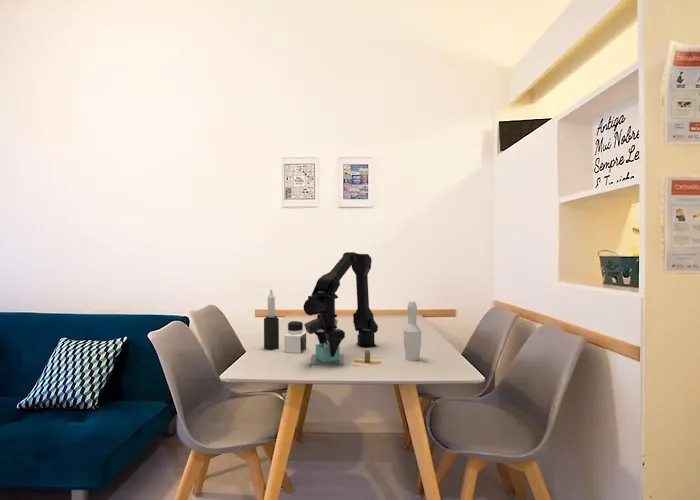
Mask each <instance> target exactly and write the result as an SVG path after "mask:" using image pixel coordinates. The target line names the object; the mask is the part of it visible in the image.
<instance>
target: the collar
mask: <svg viewBox="0 0 700 500" xmlns="http://www.w3.org/2000/svg"><path fill="white" fill-rule="evenodd" d="M340 350H341V349H340V345H339V346H338V349H337V351H336V353H335V355H334V357H331V355H330V348H329V347H324V343H323V344H320V343H316V344H315V354H316V358H317V359H318V360H320V361H321V362H329V361H336V360H340V354H341V353H340Z"/></svg>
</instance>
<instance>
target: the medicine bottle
mask: <svg viewBox="0 0 700 500" xmlns="http://www.w3.org/2000/svg"><path fill="white" fill-rule="evenodd" d="M303 329H304V323H303V322H302V321H300V320H292V321H289V322H288V323H287V331H288V332H287V333H286V334H284V335H283V336H284V337H283V338H284V342H283V343H284V344H283V345H284V346H283V347H284V351H283V352H284V353H291V354H301V353H303V352H304V351H305V350H306V349H307V331H303Z"/></svg>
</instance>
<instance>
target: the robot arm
mask: <svg viewBox="0 0 700 500" xmlns="http://www.w3.org/2000/svg"><path fill="white" fill-rule="evenodd" d="M372 261H373V260H372V257H371V256H370V254H368V253H357V252H355V251H350V252H349V251H347V252H344V253H343V254H342V257H341V258H340V259H339V260H338V262H337V263H336V264H335V265H334V266H333V268H331V270H330V271H329V272H327V273H324V274H322V276H320V277H319V278H318V279H317V281H316V284H315V286H314V287H313V290H312V293H311V295H308V296H307V299H306V300H305V301H304V303H303V311H304V313H305V315H307V316H313V315H317V316H316V318H314V319H312V320H309V321H308V322H306V323H303V327H304V328H305V332H306V334H307V333H308V334H309V335H312V334H315V336H317V339H318V342H319V343H318V344H323V343H324V342H329V348H330V355H331V357H334V355H335V353H336V351H337V349H338V346H340V344H341V342H342V341H344V339H345V337H346V332H345V331H344V330H343V329H341V328H338V324H337V325H335V319H336V318H338V314H336V299H338V298H339V296H338V295H337V294H336V292H337V291H338V289H339V287H340V286H341V279H342V278H343V276H345V275H346V273H347V271H348V270H349V269H350V268H351V270H352V271H353V273H354V274H355V283H356V284H355V285H356V305H357V307H356V308H357V309H356V311H355V312H353V313H352V317H353V318H352V320H353V321H352V323H353V326H354V330H355V331H356V332H357V333H358V334H357V343H356V345H357V346H359V347H361V348H365V349H366V348H373V347H376V346H377V344H376V343H375V333H378V330H379V329H378V328H379V326H378V324H377V323H376V320H375V318H374V313H373V311H372V310H371V308H370V300H369V277H368V276H369V275H368V274H369V272H370V270H371V268H372Z"/></svg>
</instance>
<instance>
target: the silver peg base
mask: <svg viewBox="0 0 700 500" xmlns="http://www.w3.org/2000/svg"><path fill="white" fill-rule="evenodd" d="M324 347H329V342H328V341H327V342H324ZM344 357H345V355H344V353H340V360H336V361H329V362H321V361H320V360H318V359H317V358H316V353H313V354H312V355H311V359H310V362H309V367H312V366H344Z"/></svg>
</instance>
